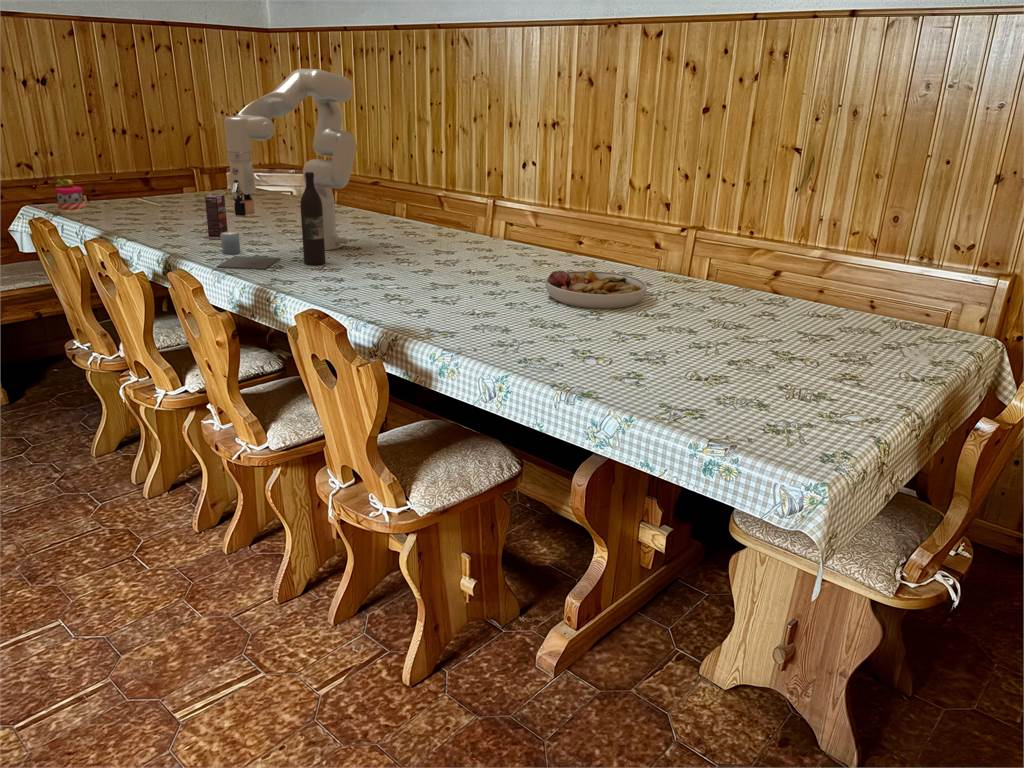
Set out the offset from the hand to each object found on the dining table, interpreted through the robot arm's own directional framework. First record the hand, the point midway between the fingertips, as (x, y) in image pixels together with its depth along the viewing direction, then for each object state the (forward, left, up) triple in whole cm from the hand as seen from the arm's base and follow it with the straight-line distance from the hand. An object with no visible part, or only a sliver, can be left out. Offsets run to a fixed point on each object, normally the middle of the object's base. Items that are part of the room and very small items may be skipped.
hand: (244, 213), depth 258 cm
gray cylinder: (+12, -16, -17) cm, 26 cm away
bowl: (-114, +28, -17) cm, 119 cm away
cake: (+108, -85, -17) cm, 138 cm away
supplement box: (+27, -43, -17) cm, 54 cm away
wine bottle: (-21, -4, -17) cm, 27 cm away
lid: (0, 0, 0) cm, 0 cm away
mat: (0, 0, -17) cm, 17 cm away
